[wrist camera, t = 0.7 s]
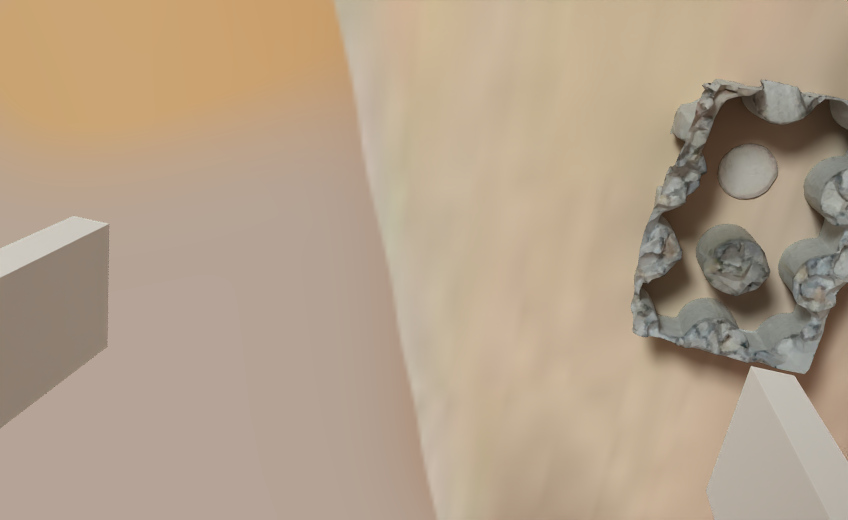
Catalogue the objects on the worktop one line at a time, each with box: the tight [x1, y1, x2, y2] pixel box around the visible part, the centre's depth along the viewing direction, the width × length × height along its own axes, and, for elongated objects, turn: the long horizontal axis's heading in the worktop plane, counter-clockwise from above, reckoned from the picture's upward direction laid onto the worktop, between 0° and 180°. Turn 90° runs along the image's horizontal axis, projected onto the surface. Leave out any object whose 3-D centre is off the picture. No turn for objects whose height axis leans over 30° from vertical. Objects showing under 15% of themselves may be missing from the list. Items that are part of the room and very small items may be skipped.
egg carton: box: [631, 79, 848, 374], centre depth 29 cm, size 11×8×4 cm
